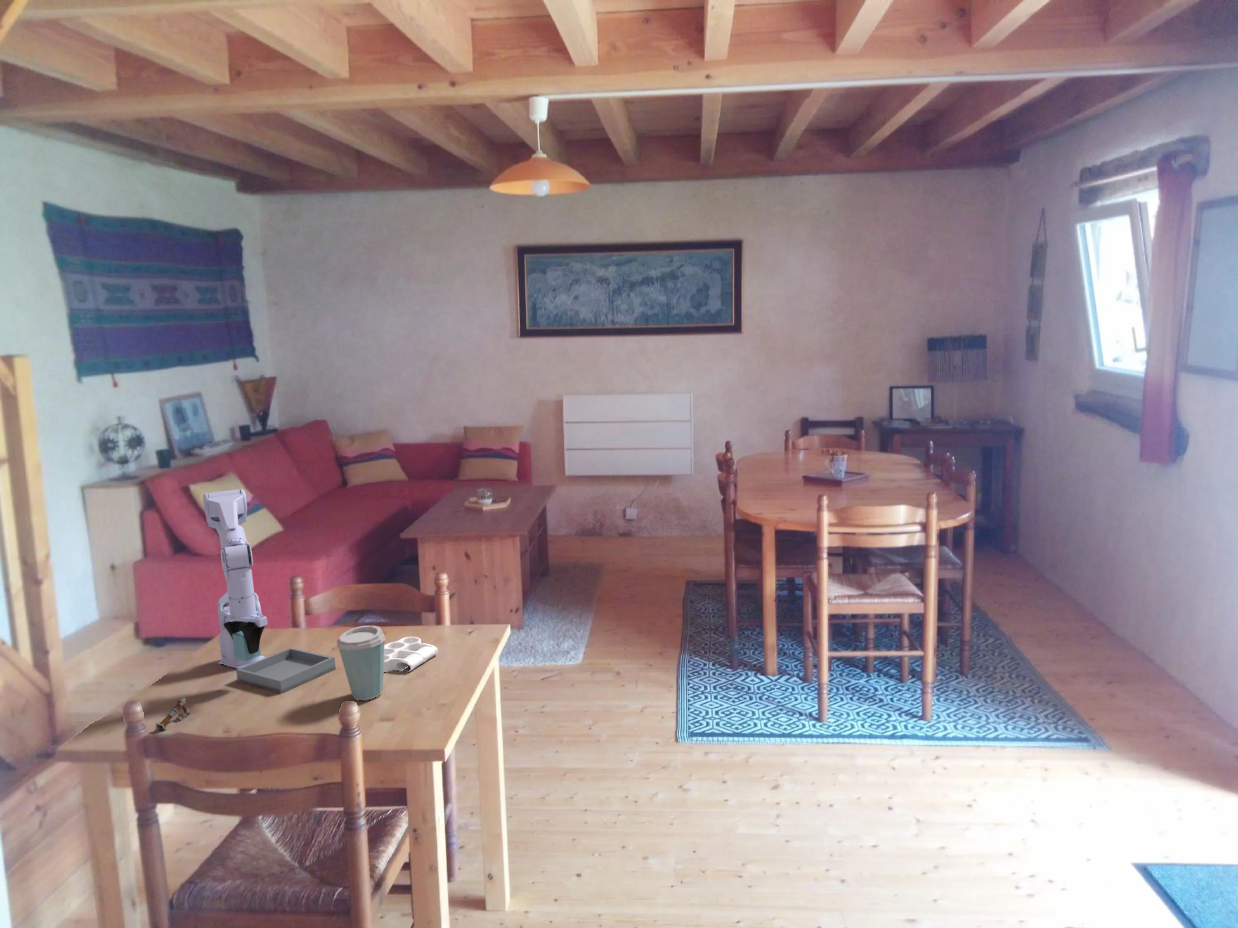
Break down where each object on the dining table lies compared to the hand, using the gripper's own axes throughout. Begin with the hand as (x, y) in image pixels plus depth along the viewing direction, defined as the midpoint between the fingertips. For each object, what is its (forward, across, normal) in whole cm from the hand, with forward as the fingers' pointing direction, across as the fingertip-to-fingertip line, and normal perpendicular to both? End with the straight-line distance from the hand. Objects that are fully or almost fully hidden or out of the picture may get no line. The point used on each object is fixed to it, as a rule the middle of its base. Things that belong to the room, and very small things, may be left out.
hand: (247, 650), depth 218 cm
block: (+2, 0, 0) cm, 2 cm away
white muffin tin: (+9, +22, +27) cm, 36 cm away
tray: (+8, +3, +8) cm, 12 cm away
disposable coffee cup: (+9, +30, +8) cm, 32 cm away
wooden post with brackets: (+9, +3, -22) cm, 24 cm away
